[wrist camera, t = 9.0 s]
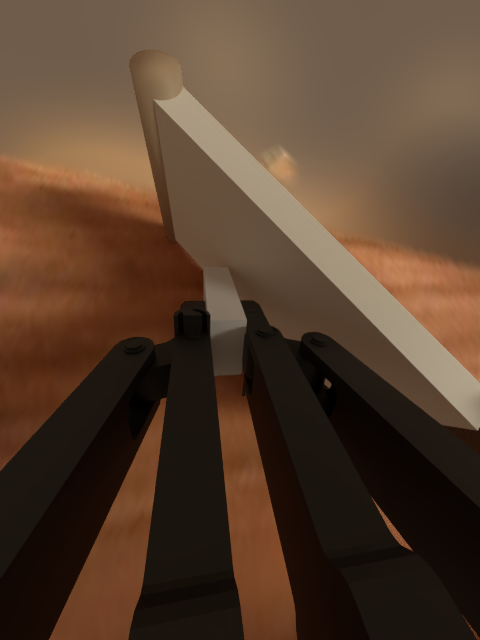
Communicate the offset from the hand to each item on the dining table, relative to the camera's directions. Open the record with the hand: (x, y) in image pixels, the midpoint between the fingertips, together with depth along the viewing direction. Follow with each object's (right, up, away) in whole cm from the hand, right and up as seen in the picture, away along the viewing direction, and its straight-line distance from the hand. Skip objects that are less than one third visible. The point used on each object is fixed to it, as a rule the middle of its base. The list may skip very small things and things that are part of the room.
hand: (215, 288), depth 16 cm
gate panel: (+2, -1, +4) cm, 5 cm away
